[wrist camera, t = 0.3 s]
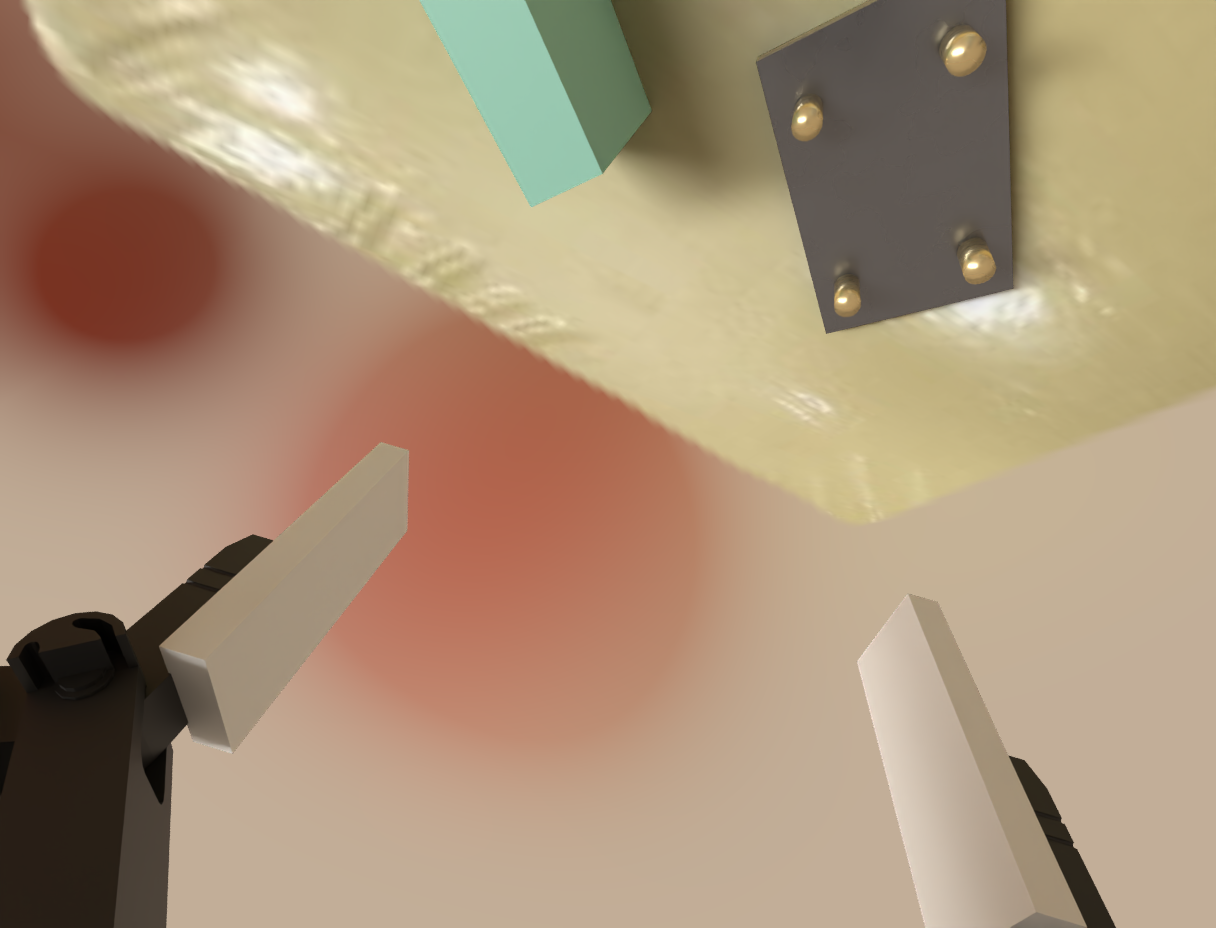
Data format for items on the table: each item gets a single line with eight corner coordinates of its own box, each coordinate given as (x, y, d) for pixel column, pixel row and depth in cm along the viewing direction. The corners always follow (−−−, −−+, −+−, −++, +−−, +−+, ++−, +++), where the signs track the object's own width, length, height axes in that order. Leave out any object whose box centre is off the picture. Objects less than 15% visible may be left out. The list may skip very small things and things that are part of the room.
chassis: (998, -66, 23) (1018, -60, 20) (1008, 278, 32) (1023, 311, 29) (758, 56, 28) (751, 74, 25) (826, 323, 37) (825, 355, 34)
